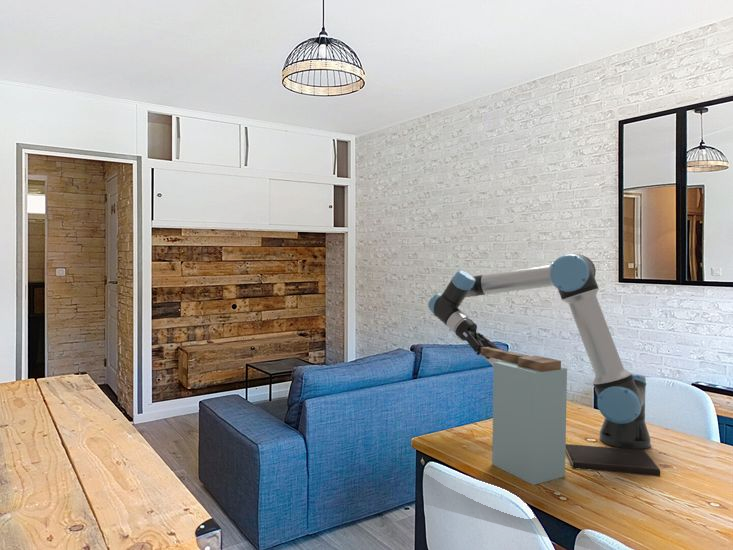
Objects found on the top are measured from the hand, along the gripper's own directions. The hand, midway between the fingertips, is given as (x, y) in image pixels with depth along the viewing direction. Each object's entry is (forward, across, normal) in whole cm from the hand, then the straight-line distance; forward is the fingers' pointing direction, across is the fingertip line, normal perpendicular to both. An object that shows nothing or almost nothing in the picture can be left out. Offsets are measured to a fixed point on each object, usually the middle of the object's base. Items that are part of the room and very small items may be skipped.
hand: (506, 366), depth 177 cm
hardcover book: (+41, -6, -2) cm, 41 cm away
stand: (+29, +15, -15) cm, 36 cm away
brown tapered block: (+8, +20, +7) cm, 22 cm away
